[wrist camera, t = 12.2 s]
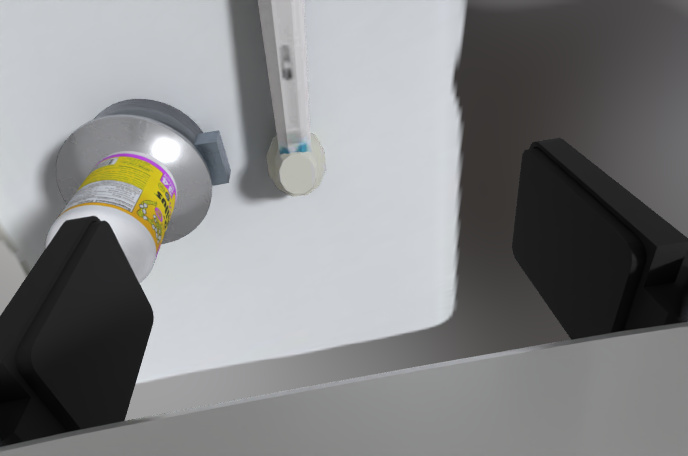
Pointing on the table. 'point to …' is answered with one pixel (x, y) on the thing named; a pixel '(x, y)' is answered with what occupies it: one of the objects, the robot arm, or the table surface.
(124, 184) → the supplement bottle
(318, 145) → the light grey long piece
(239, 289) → the table surface
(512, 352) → the robot arm
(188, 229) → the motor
